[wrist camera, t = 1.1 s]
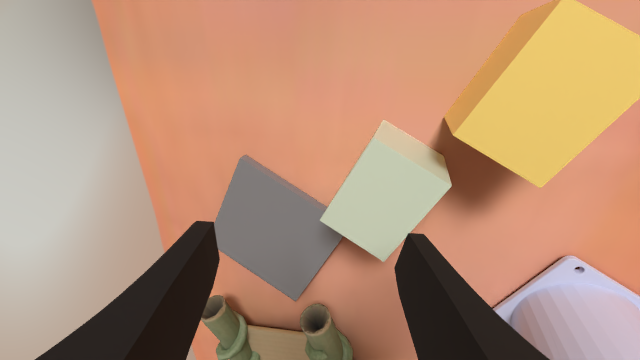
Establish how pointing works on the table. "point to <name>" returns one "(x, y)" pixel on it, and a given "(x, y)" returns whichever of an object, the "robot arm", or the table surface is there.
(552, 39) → the mustard brick
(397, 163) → the sage brick
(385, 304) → the table surface
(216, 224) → the baseplate
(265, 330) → the stretcher
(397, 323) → the table surface
